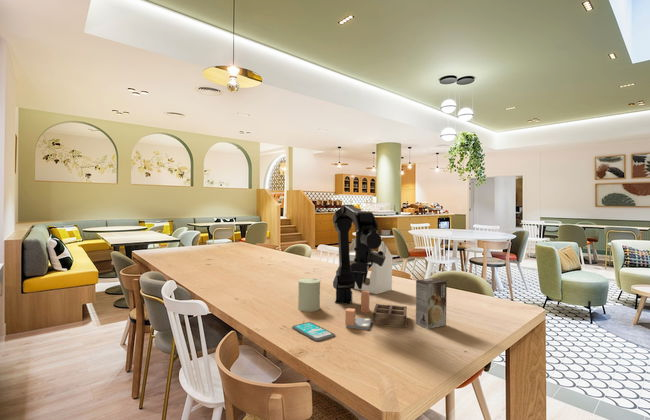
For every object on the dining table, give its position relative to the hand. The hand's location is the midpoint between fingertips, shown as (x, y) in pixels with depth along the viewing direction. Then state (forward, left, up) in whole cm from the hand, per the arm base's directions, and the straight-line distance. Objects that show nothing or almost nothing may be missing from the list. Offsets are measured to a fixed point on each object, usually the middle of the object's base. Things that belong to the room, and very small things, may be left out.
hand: (361, 285), depth 125 cm
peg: (0, +9, -13) cm, 15 cm away
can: (-23, +6, -13) cm, 27 cm away
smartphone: (-14, -18, -13) cm, 26 cm away
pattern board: (0, -7, -13) cm, 14 cm away
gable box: (-4, +47, -13) cm, 49 cm away
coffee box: (+25, +1, -13) cm, 28 cm away
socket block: (+11, +1, -12) cm, 16 cm away
